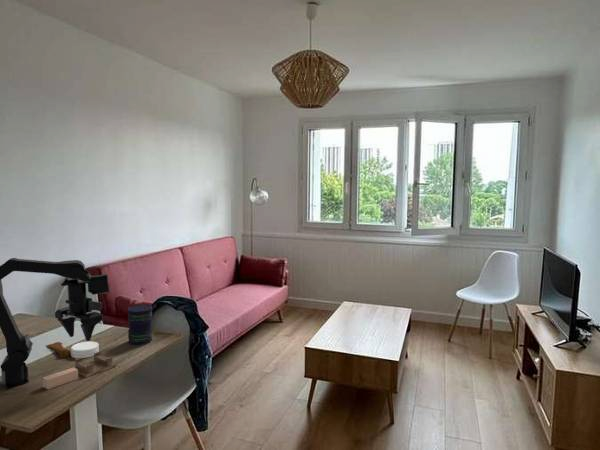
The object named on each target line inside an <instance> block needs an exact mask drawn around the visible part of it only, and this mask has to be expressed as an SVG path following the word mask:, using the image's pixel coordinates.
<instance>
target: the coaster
mask: <svg viewBox="0 0 600 450" xmlns="http://www.w3.org/2000/svg"><path fill="white" fill-rule="evenodd" d="M99 346H100V344H99V343H98V342H96V341H91V340H90V341H82V342H78V343H76V344H73V345H72V346H71V347H70V356H71V357H72V358H73V359H78V358H82V359H85V358H86V359H87V358H90V357H94V353H96V352H100V349H99V348H100V347H99Z"/></svg>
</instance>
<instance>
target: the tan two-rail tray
mask: <svg viewBox="0 0 600 450" xmlns="http://www.w3.org/2000/svg"><path fill="white" fill-rule="evenodd" d="M74 359H75V360H74V363H75V364H74V366H73V367H74V368H76V369H78V375H81V376H83V377H84V378H89V377H91V376H94V375H96V374H99V373H102V372H104V371H108V370H110V369H113V368H116V367H117V365H116V363H113V357H112V356H109V357H107V356H104V355H102V354H101V351H99V352H96V353H94V356H93V360H92V361H87V362H85V361H84V360H83V358H74Z"/></svg>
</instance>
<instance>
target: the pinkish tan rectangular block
mask: <svg viewBox="0 0 600 450" xmlns="http://www.w3.org/2000/svg"><path fill="white" fill-rule="evenodd" d="M74 367H75V366H73V367H71V368H68V369H64V370H62V371H59V372H55V373H53V374H49V375H46V376H43V377H42V388H44V389H45V388H46V389H45V390H47V389H48V390H50V389H53V388H56V387H58V386H61V385H64V384H67V383H70V382H73V381H75V380H78V379H79V373H78V369H76V368H74Z"/></svg>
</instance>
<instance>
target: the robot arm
mask: <svg viewBox="0 0 600 450" xmlns="http://www.w3.org/2000/svg"><path fill="white" fill-rule="evenodd" d="M13 272H23V273H37V274H49V275H51V274H52V275H56V276H60V277H63V278H65V279H64V280H63V281H61V283H60V286H61V287H64V286H65V287H66V286H67V297H68V298H67V299H66V300H65V304H68V306H66V307H61V308H58V309H57V310H56V311H55V312H54V318H55V319H57V321H58V322H59V323H60V324H61V325H62V327H63V329H64V330H65V332H66V333H67V334H68V336H69V337H70V338H72V337H74V336H75V321H76V319H80V321H79V322H80V323H81V324H80V328H81V330H82V333H83V336H84V338H85V340H86V341H85V342H88V341H91V338H92V335H93V332H94V330H95V327H96V326H97V325H98V324H100V323H101V322H102V321H104V318H103V317H104V315H103V314H102V313H101V311H102V307H103V302H100V301H96V300H95V301H94V300H93V298H91V297H87V292H88V293H89V294H91V295H92V296H93V295H101V294H109V293H110V287H109V285H110V284H109V281H108V279H109V278H108V274H107V273H106V274H100V275H99V274H98V275H92V274H91V273H90V272H89V271H88V270H87V269H86V265H85V264H84V262H83V261H81V260H79V259H73V260H72V259H71V260H63V261H48V260H47V261H46V260H38V259H24V258H17V257H12V258H9V259H7V260H6V261H5V262H4V263H2V264H0V330H1V332H2V335H3V337H4V339H5V345H6V353H7V354H6V356H5V358H4V359H3V361H2V363H1V364H0V369H1V370H0V371H1V381H0V385H1V386H2V387H4V388H5V389H7V390H8V389H12V388H15V387H18V386H21V385H24V384H27V383H29V382H30V380H29V367H28V366H27V363H26V361H27V360H28V358H29V356H30V354H31V351H32V348H33V344H34V343H33V342H32V340H31V339H30V335H29V333H27V334H25V335H24V334H22V333H21V331H20V330H19V327H18V325H17V323H16V320H15V318H14V316H13V314H12V312H11V310H10V307H9V305H8V303H7V301H6V299H5V296H4V290H3V282H2V279H4V278H6V277H7V276H9V274H11V273H13ZM86 284H87V285H86ZM92 311H93V312H92ZM96 311H97V312H96Z"/></svg>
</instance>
